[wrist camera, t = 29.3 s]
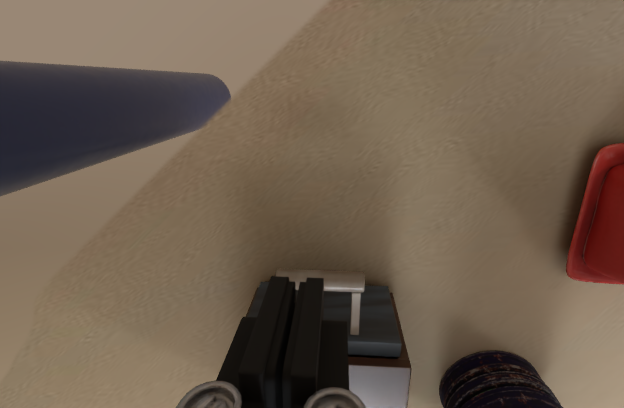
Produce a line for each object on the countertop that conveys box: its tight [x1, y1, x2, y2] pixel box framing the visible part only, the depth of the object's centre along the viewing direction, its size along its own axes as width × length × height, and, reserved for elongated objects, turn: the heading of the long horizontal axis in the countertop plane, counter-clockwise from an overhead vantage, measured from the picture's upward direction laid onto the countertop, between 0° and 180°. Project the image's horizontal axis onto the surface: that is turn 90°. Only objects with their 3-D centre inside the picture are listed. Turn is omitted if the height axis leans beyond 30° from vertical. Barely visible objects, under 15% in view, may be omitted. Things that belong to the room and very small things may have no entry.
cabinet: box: [246, 288, 411, 408], centre depth 31 cm, size 14×13×9 cm
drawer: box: [247, 269, 401, 358], centre depth 29 cm, size 17×11×7 cm, turn 0°
